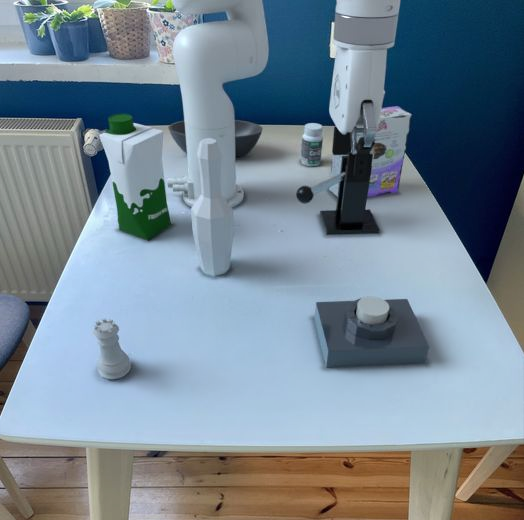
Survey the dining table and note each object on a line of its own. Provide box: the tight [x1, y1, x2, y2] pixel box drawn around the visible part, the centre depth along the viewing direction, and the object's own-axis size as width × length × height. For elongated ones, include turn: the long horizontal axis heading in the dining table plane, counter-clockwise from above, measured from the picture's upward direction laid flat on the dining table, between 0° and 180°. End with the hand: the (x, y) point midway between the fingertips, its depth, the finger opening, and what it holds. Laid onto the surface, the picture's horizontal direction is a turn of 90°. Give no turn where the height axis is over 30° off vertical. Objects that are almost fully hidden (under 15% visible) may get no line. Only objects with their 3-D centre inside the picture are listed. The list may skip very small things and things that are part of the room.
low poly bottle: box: [190, 138, 235, 277], centre depth 85 cm, size 6×6×22 cm
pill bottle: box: [300, 122, 324, 167], centre depth 124 cm, size 5×5×8 cm
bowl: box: [167, 119, 264, 160], centre depth 128 cm, size 12×22×6 cm, turn 88°
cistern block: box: [313, 297, 430, 369], centre depth 78 cm, size 14×11×5 cm
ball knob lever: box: [295, 166, 346, 205], centre depth 99 cm, size 13×3×3 cm, turn 94°
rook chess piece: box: [92, 317, 132, 381], centre depth 71 cm, size 4×4×8 cm
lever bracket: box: [319, 156, 380, 236], centre depth 100 cm, size 10×8×13 cm
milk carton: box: [98, 113, 172, 241], centre depth 96 cm, size 9×9×20 cm
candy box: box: [328, 105, 412, 199], centre depth 110 cm, size 14×6×16 cm, turn 108°
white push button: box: [356, 295, 389, 325], centre depth 76 cm, size 4×4×2 cm
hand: (349, 167), depth 77 cm, fingers open, 9 cm apart
